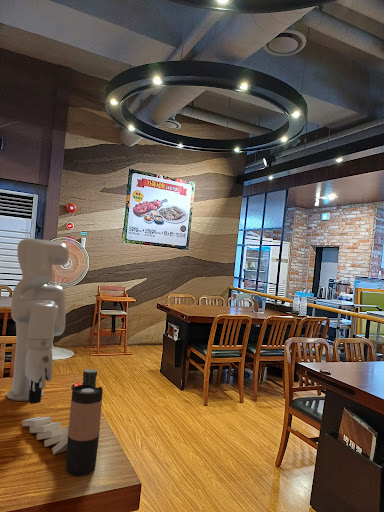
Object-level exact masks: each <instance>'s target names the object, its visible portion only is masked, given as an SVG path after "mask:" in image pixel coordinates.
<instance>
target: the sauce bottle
mask: <svg viewBox="0 0 384 512" xmlns="http://www.w3.org/2000/svg"><path fill="white" fill-rule="evenodd" d="M82 376H83V377H82V383H81V385H84V384H91V385H93V386H94V387H96V388H97V386H96V385H97V383H96V382H97V376H98V370H96V369H94V368H93V369H92V368H86V369H84V370H83V372H82Z"/></svg>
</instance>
